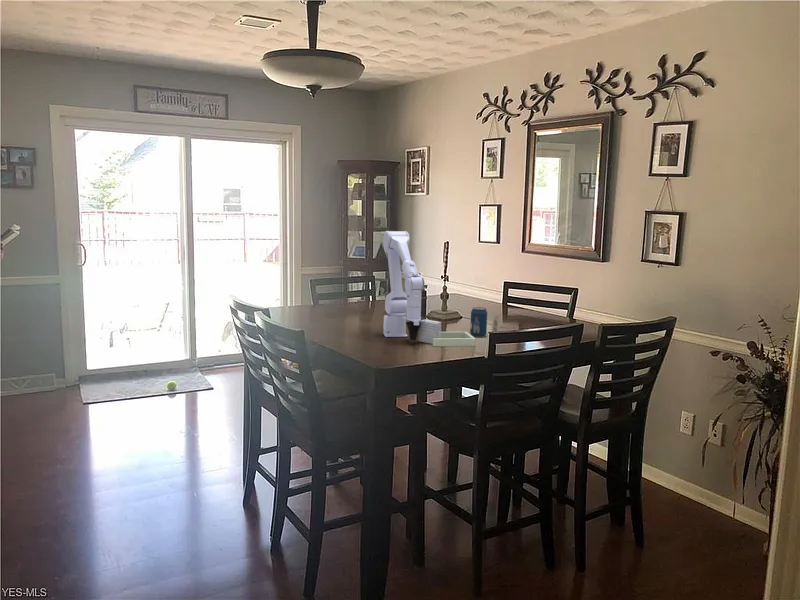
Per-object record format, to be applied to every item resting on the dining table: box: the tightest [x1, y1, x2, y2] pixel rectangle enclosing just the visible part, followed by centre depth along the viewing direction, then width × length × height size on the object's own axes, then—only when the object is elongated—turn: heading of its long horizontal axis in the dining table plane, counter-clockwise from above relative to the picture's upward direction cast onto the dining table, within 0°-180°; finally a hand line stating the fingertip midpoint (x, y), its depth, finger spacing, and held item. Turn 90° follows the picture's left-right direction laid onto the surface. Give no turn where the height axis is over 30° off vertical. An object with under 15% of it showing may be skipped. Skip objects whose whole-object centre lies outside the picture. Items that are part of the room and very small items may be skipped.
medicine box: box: [418, 319, 442, 345], centre depth 256 cm, size 8×4×9 cm, turn 54°
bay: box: [432, 331, 477, 348], centre depth 258 cm, size 17×14×3 cm
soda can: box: [469, 306, 488, 338], centre depth 272 cm, size 7×7×12 cm
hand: (412, 339), depth 256 cm, fingers closed
